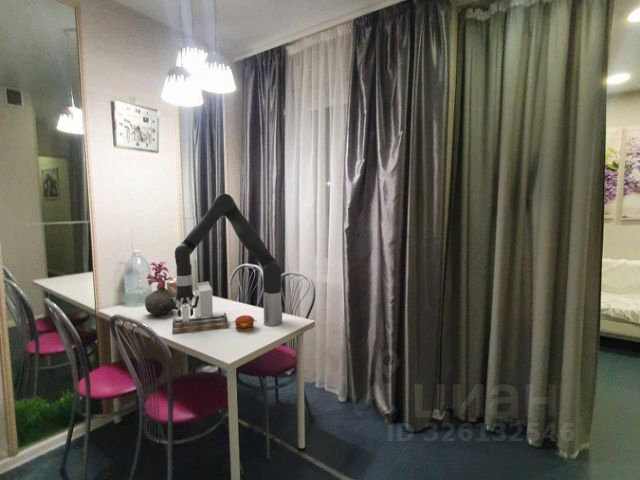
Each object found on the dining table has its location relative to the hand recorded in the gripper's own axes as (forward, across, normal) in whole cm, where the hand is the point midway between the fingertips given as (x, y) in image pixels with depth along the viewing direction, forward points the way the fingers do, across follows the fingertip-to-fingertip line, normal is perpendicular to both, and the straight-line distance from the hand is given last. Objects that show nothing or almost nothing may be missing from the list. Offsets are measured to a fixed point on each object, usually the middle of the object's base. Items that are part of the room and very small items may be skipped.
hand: (185, 316), depth 168 cm
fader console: (+6, -7, 0) cm, 9 cm away
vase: (+6, +13, -26) cm, 30 cm away
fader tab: (+4, 0, 0) cm, 4 cm away
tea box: (+6, +5, -49) cm, 50 cm away
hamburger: (+6, -28, +11) cm, 31 cm away
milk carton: (+6, -9, -17) cm, 20 cm away
